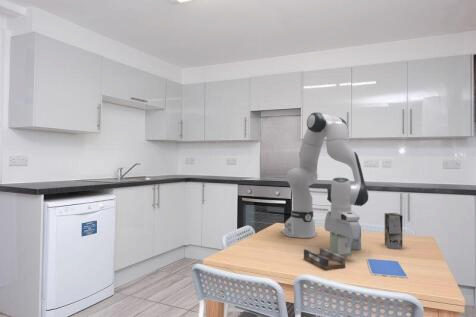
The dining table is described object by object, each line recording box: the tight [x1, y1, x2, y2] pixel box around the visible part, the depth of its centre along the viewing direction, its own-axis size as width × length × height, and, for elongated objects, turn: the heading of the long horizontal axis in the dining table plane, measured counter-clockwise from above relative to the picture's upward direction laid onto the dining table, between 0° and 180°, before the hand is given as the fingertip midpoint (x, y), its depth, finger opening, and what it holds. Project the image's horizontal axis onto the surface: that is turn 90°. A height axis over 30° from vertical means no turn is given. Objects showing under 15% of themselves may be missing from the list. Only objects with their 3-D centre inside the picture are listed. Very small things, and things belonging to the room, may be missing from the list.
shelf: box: [303, 247, 346, 271], centre depth 134 cm, size 16×9×4 cm, turn 20°
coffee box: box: [384, 212, 404, 250], centre depth 161 cm, size 9×6×16 cm
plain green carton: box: [329, 234, 352, 258], centre depth 145 cm, size 5×8×9 cm, turn 110°
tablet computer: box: [366, 258, 409, 279], centre depth 127 cm, size 19×13×1 cm, turn 164°
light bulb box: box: [351, 225, 362, 251], centre depth 159 cm, size 11×7×11 cm, turn 65°
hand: (341, 244), depth 145 cm, fingers open, 8 cm apart
